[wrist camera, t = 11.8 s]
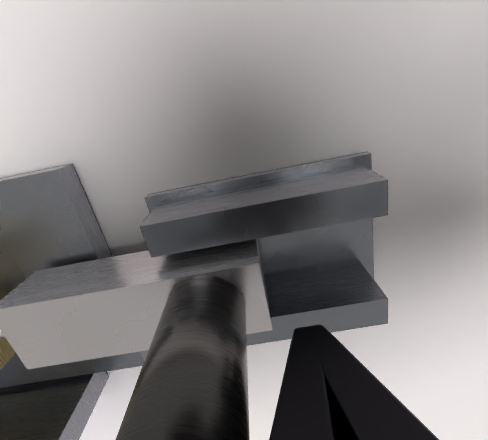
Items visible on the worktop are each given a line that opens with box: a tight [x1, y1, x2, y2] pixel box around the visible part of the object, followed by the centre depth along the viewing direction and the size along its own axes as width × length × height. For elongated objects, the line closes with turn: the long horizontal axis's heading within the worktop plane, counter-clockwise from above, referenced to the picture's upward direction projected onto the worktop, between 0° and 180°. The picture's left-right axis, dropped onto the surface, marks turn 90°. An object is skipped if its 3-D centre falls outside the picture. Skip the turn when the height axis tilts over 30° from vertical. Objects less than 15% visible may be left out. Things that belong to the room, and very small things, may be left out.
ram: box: [0, 239, 272, 440], centre depth 9 cm, size 12×3×7 cm, turn 101°
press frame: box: [0, 152, 388, 440], centre depth 11 cm, size 24×12×6 cm, turn 101°
